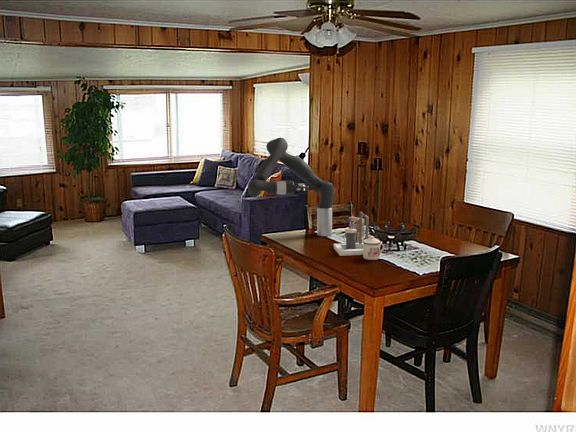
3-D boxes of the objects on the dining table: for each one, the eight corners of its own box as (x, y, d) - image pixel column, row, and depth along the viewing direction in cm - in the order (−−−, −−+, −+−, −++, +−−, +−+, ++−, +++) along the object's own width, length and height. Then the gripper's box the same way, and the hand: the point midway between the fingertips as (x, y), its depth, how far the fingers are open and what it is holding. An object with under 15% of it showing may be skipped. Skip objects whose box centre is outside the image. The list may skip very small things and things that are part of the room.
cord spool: (343, 250, 314) (344, 228, 311) (355, 249, 314) (355, 228, 312) (346, 252, 307) (346, 231, 305) (357, 252, 308) (358, 231, 306)
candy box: (364, 244, 325) (364, 218, 322) (359, 245, 323) (359, 219, 319) (353, 241, 332) (353, 216, 329) (348, 242, 329) (348, 217, 326)
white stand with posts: (333, 248, 318) (333, 212, 313) (368, 246, 320) (368, 211, 316) (339, 255, 302) (340, 218, 298) (376, 254, 305) (377, 216, 300)
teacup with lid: (368, 260, 292) (368, 239, 290) (359, 256, 300) (360, 235, 298) (388, 258, 296) (388, 237, 294) (379, 254, 305) (379, 233, 302)
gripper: (286, 182, 301) (316, 181, 303) (283, 179, 315) (311, 178, 317) (286, 196, 303) (316, 195, 305) (283, 192, 317) (311, 191, 319)
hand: (313, 186), depth 311 cm, fingers open, 8 cm apart
